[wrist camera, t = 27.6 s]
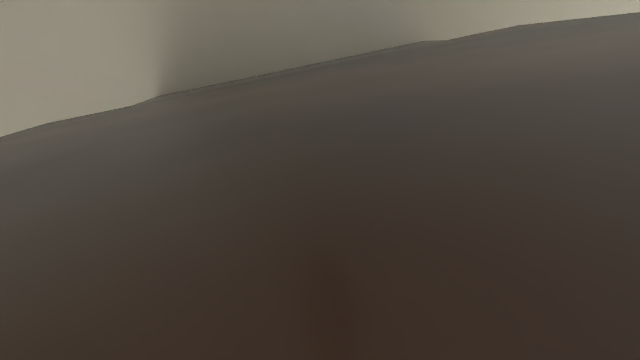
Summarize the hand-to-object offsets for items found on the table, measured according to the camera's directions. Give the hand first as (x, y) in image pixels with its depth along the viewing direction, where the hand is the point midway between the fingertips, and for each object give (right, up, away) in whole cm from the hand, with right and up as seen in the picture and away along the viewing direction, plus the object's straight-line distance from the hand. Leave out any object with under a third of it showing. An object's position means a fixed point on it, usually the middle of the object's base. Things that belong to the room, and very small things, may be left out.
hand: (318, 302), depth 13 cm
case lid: (-1, +4, -11) cm, 12 cm away
